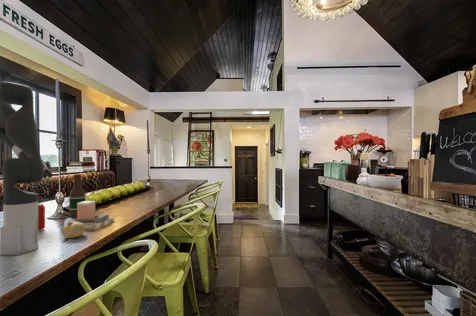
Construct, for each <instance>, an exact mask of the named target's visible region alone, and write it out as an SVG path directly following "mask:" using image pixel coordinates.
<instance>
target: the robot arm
mask: <svg viewBox="0 0 476 316" xmlns="http://www.w3.org/2000/svg"><path fill="white" fill-rule="evenodd" d="M33 92H34V91H33V90H32V88H31V87H30V86H28V85H25V84H21V83H16V82H12V81H11V82H10V81H0V142H2V143H3V144H5V145H7V147H8V148H10V150H12V152H13V154H14V155H16V156H17V157H12V158H11V157H8V158H6V159H4V160H3V162H2V170H1V171H2V174H1V175H2V184H3V204H2V205H3V218H2V219H3V223H2V224H3V226H1V227H0V256H19V255H22V254H26V253H30V252H33V251H35V250H37V249H38V248H39V232H38V204H39V195H38V193H36V192H34V191H33V192H30V191H28V190H27V191H26V190H22V189H20V188H19V187H17V186H16V185H20V184H36V183H39V182H41V181H42V180H43V179H47V177H48V178H49V179H50V178H52V177H53V176H54V174H53V173H52V172H51V171H50V170H52V166H51V165H52V164H51V163H50V161H48V160H47V161H44V160H43V159H42V156H41V153H40V148H39V142H38V131H37V130H38V129H37V124H36V118H35V112H34V93H33ZM12 105H14V106H21V107H20V108H19V109H18V110H16V109H15V108H14V107H13V106H12Z"/></svg>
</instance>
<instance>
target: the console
mask: <svg viewBox="0 0 476 316" xmlns="http://www.w3.org/2000/svg"><path fill="white" fill-rule="evenodd" d="M73 221H74V222H81V223H83V224H84V225H85V227H86V229H85V231H90V232H91V231H95V230H98V229H100V228H102V227H105V226H107V225H109V224H111V223H114V222H115V217H113V216H112V217H110V214H107V213H106V214H101V215H95V219H94V220H86V219H77V218H75V219H74V220H73ZM66 225H67V224H65V225H64V226H63V228H64V227H65V226H66Z"/></svg>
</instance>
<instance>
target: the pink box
mask: <svg viewBox="0 0 476 316" xmlns="http://www.w3.org/2000/svg"><path fill="white" fill-rule="evenodd" d="M95 216H96V200H85V201H83V202H79V203H77V217H76V219H86V220H94V219H95Z"/></svg>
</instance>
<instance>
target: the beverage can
mask: <svg viewBox="0 0 476 316" xmlns="http://www.w3.org/2000/svg"><path fill="white" fill-rule="evenodd" d="M45 228H46V206H45V205H44V203H38V233H39V232H42V231H43V230H44V229H45Z"/></svg>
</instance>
